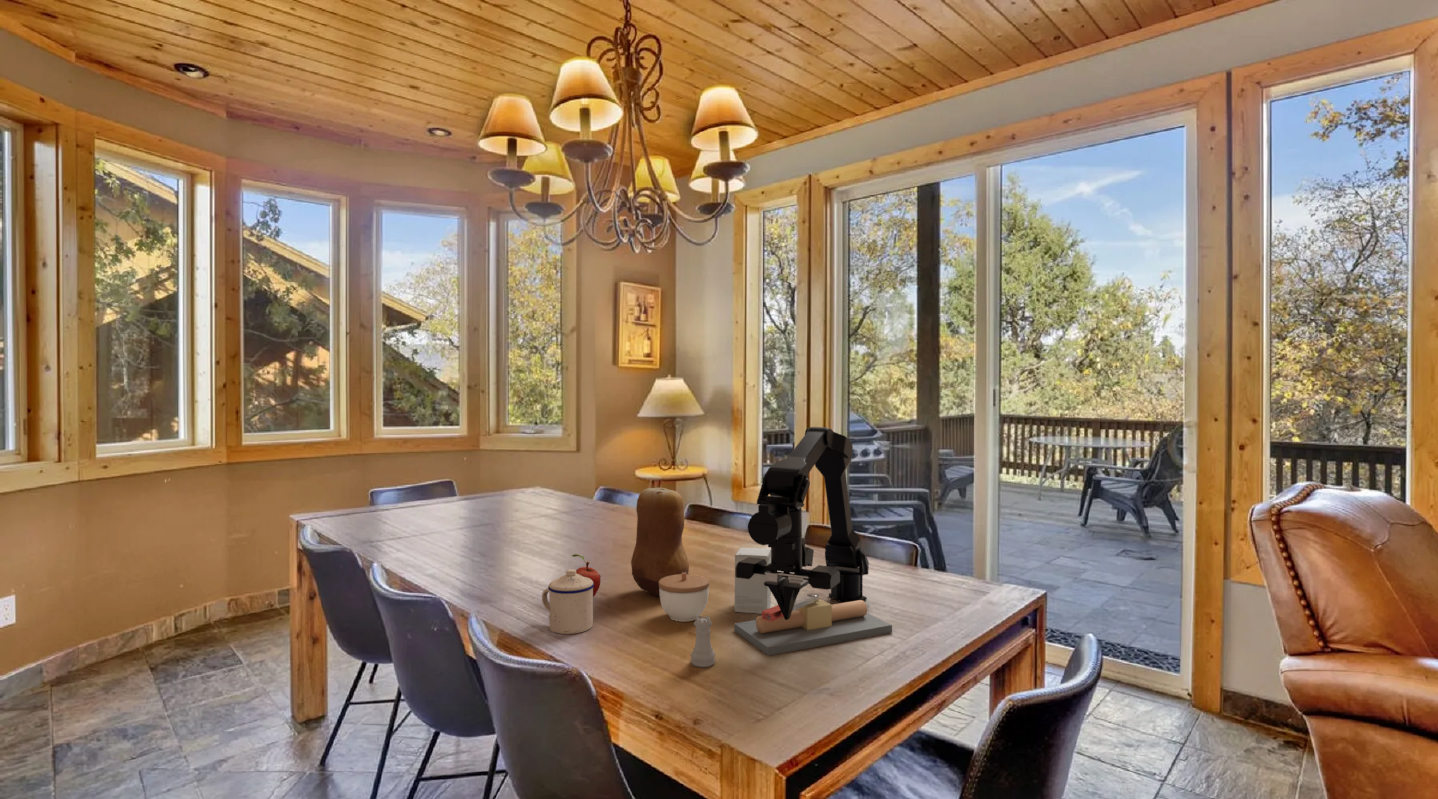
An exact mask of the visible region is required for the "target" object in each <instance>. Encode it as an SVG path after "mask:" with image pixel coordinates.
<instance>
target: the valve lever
mask: <svg viewBox="0 0 1438 799" xmlns="http://www.w3.org/2000/svg"><path fill="white" fill-rule="evenodd" d="M819 599H820V594H819V593H814V592H813V593H807V594H806V595H804V596H800V597H797V598H796V601H795V604H794V607H793V610H792V611H795V610H796V609H799V608H801V607H804V606H806V605H809V604H811V603H813V602H818V601H819ZM761 616H762V619H764V620H767V621H771V622H772V621H774V620H776V619H779V618H781V617H784V616H783V614H782V612H781V610H780V608H779V605H778V604H777V605H775V606H772V607H769V608H768V609H766V610H764V611H762V614H761Z"/></svg>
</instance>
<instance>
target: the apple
mask: <svg viewBox="0 0 1438 799" xmlns="http://www.w3.org/2000/svg"><path fill="white" fill-rule="evenodd" d="M571 557H573V558H574V557H576V558H577V557H580V558H581V559H582V560H583V561H584V562H585V564H586V565H585V566H581V567H578V568H577V569H575V570H576V574H579V575H581V576H583V577H587V578H590V579H591V580H592V581H593V583H594V587H593V598H594V597H595V596H596V595H597V593H598V591H599V588H600V587H601V576H602V575H600V573H599V572H598V571H597V570H596V569H594V568H592V567H589V565H590V561H588V560H587V561H585V557H584V556H582V555H581V554H580V555H579V554H577V553H575V554H573V555H571Z"/></svg>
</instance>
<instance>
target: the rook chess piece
mask: <svg viewBox="0 0 1438 799" xmlns="http://www.w3.org/2000/svg"><path fill="white" fill-rule="evenodd" d="M693 625H694V627H696V629H695V631H694V633H695V644H694V647H693V649H692V652H691V653H690V657H691V659H690V663H691V664H692V666H694V667H696V668H710V667H712V666H713V665H714V664H715V663H716V658H715V657H716V653H715V651H714V650H713V647H712V643H711V633H712V631H711V630H710V629H711V626H712V625H713V622H712V621H711V617H710V616H708V615H705V616H704V618H703V615H699V617H696V620H694V622H693Z"/></svg>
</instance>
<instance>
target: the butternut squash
mask: <svg viewBox="0 0 1438 799" xmlns="http://www.w3.org/2000/svg"><path fill="white" fill-rule="evenodd" d="M684 506H685V505H684V500H683V497H682V496H681V494H680V493H679V492H678V491H676V490H673V489H667V488H665V487H649V488H645V489H643V490H642V491H641V492H640V493H639V494H638V497H637V500H636V507H635V508H636V510H635V511H636V518H637V519H636V520H637V521H636V522H637V523H636V539H635V546H634V550H633V552H632V557H631V560H630V564H631V565H630V566H631V575H632V577H633V580H634V581H635V582H636V584H637V586H638V587H639V588H640V589H641V590H642V591H645V592H647V593H648V592H649V593H651V594H653V595H654V596H657V597H660V594H659V580H660V579H662V578H664V577H667V576H671V575H677V574H682V573H686V574H689V573H690V572H689V571H690V562H689V559H688V555H687V553H686V549H685V547H684V545H683V533H684V528H685V507H684Z"/></svg>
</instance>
